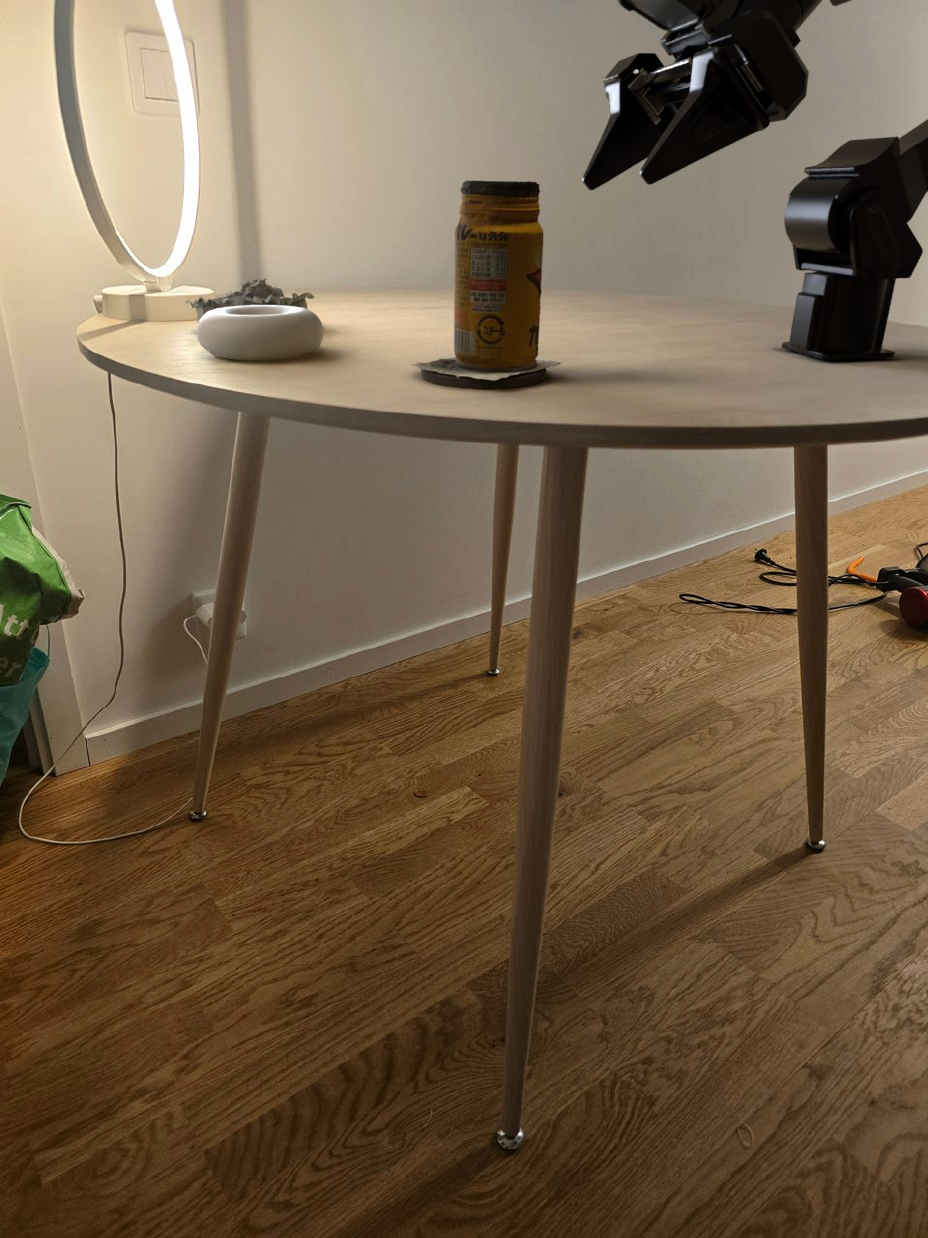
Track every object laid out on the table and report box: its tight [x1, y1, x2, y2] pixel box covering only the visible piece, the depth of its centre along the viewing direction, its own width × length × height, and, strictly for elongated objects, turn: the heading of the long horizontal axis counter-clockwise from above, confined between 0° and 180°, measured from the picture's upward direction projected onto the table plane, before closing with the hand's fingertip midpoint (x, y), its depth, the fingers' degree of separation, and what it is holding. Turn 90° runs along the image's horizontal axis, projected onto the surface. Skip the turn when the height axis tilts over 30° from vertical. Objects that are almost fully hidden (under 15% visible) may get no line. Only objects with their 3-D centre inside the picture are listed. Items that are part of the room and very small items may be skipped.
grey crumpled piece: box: [185, 278, 315, 324], centre depth 83 cm, size 11×8×4 cm
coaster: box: [420, 357, 547, 389], centre depth 63 cm, size 9×9×1 cm
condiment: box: [410, 179, 562, 380], centre depth 60 cm, size 7×8×12 cm
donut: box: [195, 305, 324, 361], centre depth 71 cm, size 10×4×10 cm
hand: (613, 182), depth 62 cm, fingers open, 9 cm apart
